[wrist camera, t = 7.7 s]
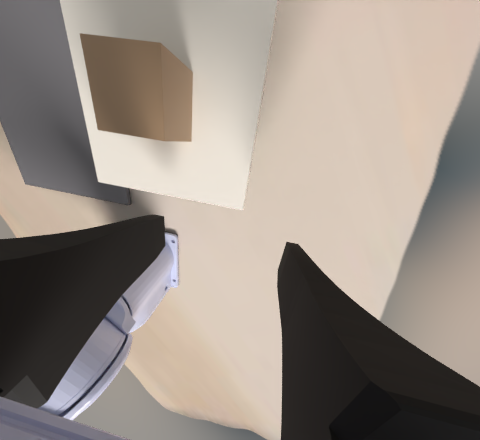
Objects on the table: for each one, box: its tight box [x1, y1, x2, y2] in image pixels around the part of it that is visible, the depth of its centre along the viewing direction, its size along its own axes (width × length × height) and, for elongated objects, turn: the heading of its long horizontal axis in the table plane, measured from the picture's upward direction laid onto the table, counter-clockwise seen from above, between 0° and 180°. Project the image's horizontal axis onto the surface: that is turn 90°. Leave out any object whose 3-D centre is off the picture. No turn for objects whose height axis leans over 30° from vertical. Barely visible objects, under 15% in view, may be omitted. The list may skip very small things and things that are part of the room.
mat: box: [0, 0, 131, 205], centre depth 19 cm, size 18×15×1 cm
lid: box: [60, 0, 279, 210], centre depth 11 cm, size 13×13×4 cm
